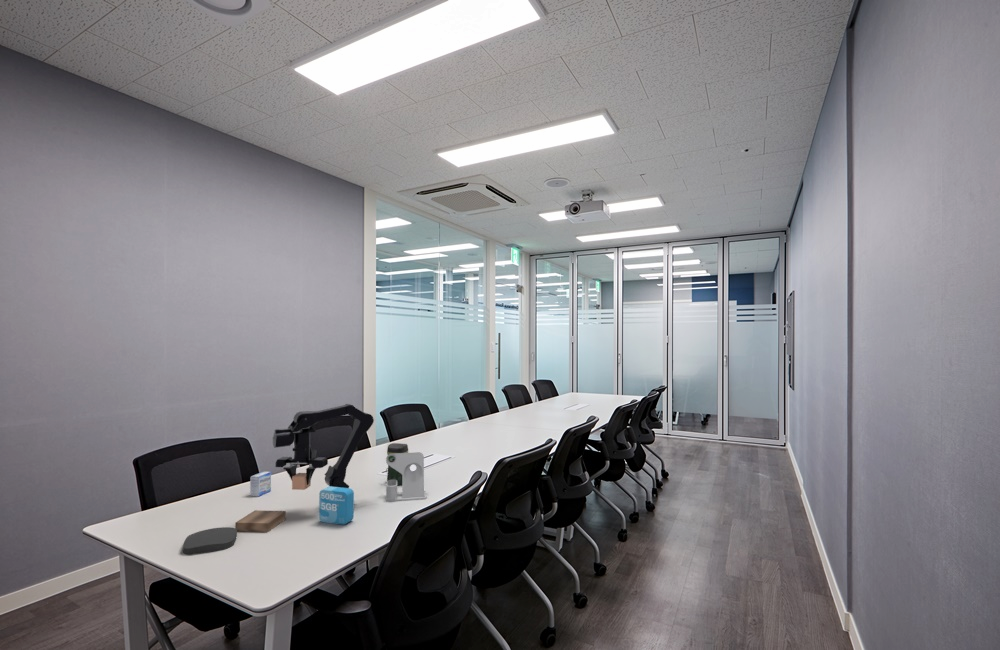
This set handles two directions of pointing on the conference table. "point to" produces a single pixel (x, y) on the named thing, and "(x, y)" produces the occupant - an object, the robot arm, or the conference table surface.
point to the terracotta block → (300, 481)
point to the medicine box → (260, 484)
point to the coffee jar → (394, 449)
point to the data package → (336, 505)
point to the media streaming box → (210, 540)
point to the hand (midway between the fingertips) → (301, 484)
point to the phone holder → (407, 477)
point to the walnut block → (260, 521)
